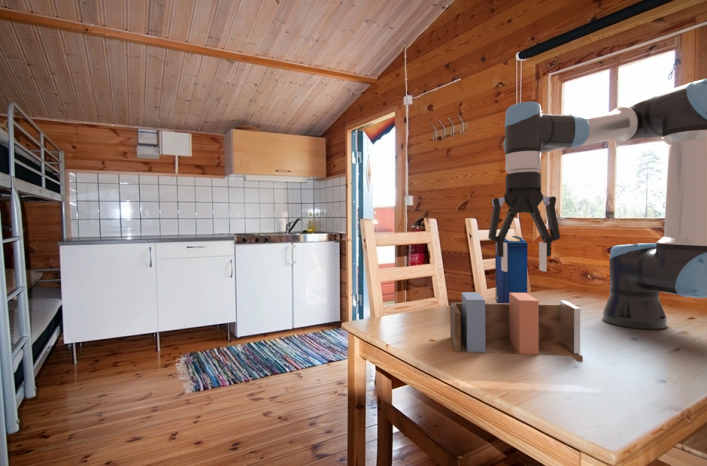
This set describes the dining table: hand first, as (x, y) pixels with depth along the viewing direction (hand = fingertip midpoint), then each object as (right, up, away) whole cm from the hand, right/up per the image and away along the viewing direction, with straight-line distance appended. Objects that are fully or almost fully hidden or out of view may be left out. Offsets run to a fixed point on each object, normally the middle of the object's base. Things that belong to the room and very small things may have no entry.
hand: (523, 270), depth 89 cm
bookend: (+10, -18, -1) cm, 20 cm away
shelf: (-2, -19, +2) cm, 19 cm away
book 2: (+14, -18, +41) cm, 47 cm away
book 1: (-11, -18, +2) cm, 21 cm away
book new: (0, -18, +1) cm, 18 cm away
